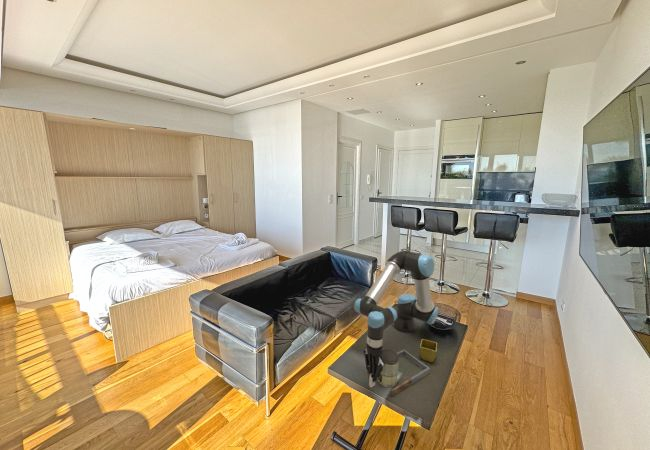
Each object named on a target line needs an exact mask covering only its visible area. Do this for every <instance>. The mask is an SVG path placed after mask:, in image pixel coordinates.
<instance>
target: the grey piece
mask: <svg viewBox="0 0 650 450" xmlns="http://www.w3.org/2000/svg"><path fill="white" fill-rule="evenodd" d="M396 353H397V354H398V356H399V359H400V358H401V357H405V358H407V359H408V360H409V361H411V362H412V363H413V364H415V365H416V366H418V367H419V368H420V369H422V370H421V371H420V372H418V373H417V374H415V375H413V376H412V377H410V378H409V379H411V380H412V381H411V385H413V384H415V383H416V382H418V381H420V380H421V379H423V378H424V377H426V376H428V375H429V374H430V372H431V368H430V367H429V366H427V365H426V364H425V363H424V362H422V361H420V359H418V358H417V357H415V356H413V355H412V354H411V353H409V351H407V350H405V349H402V350H400V351H398V352H396ZM411 385H410V386H411Z"/></svg>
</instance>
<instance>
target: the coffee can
mask: <svg viewBox="0 0 650 450" xmlns="http://www.w3.org/2000/svg"><path fill="white" fill-rule="evenodd" d="M397 353H398V352H396V351H394V350H392V349H386V348H385V349H382V353H381V361H382V362H384V363H385V365H384V366H383V368H382V371H381V374H380V376H379V377H377V378H376V380H377V381H378V383H379V382H380V383H379V384H380V385H382V386H383V387H386V388H393V387H396V385H397V383H398V374H399V373H398V371H399V362H400V358H399V356H398V354H397ZM378 364H379V363H378Z"/></svg>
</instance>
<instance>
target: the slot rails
mask: <svg viewBox="0 0 650 450" xmlns="http://www.w3.org/2000/svg"><path fill="white" fill-rule="evenodd" d="M366 374H367V375H369V372H368V370H366ZM411 381H412V380H411V379H410V378H409V379H406V380H405V381H404V382H402V383H400V384H398V385H397V386H394V388H393V387H392V389H391V390H390V395H391V396H393V397H395V395H397V394H399V393H400V392H402V391H403V390H405V389H408V388H409V387H410V386H411Z"/></svg>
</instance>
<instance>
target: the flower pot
mask: <svg viewBox="0 0 650 450" xmlns="http://www.w3.org/2000/svg"><path fill="white" fill-rule="evenodd" d="M420 340H421V341H420V345H419V353H420V357H421V359H422V360H424V361H427V362H430V363H432V362H434V361H435V359H436V355H437V351H438V350H437V348H438V347H437V346H438V342H436V341H433V340H428V339H424V338H422V339H420Z"/></svg>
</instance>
